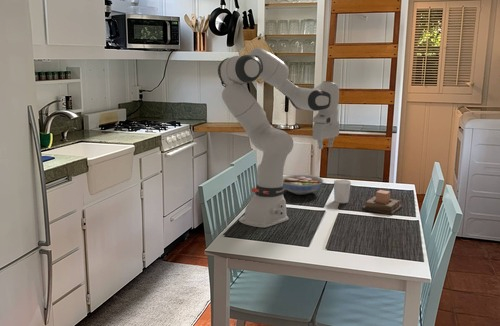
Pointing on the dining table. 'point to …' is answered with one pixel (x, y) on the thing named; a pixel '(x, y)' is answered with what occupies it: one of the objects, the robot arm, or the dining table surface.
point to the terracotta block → (383, 197)
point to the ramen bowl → (301, 183)
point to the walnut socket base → (382, 206)
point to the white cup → (341, 191)
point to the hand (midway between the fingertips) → (325, 147)
